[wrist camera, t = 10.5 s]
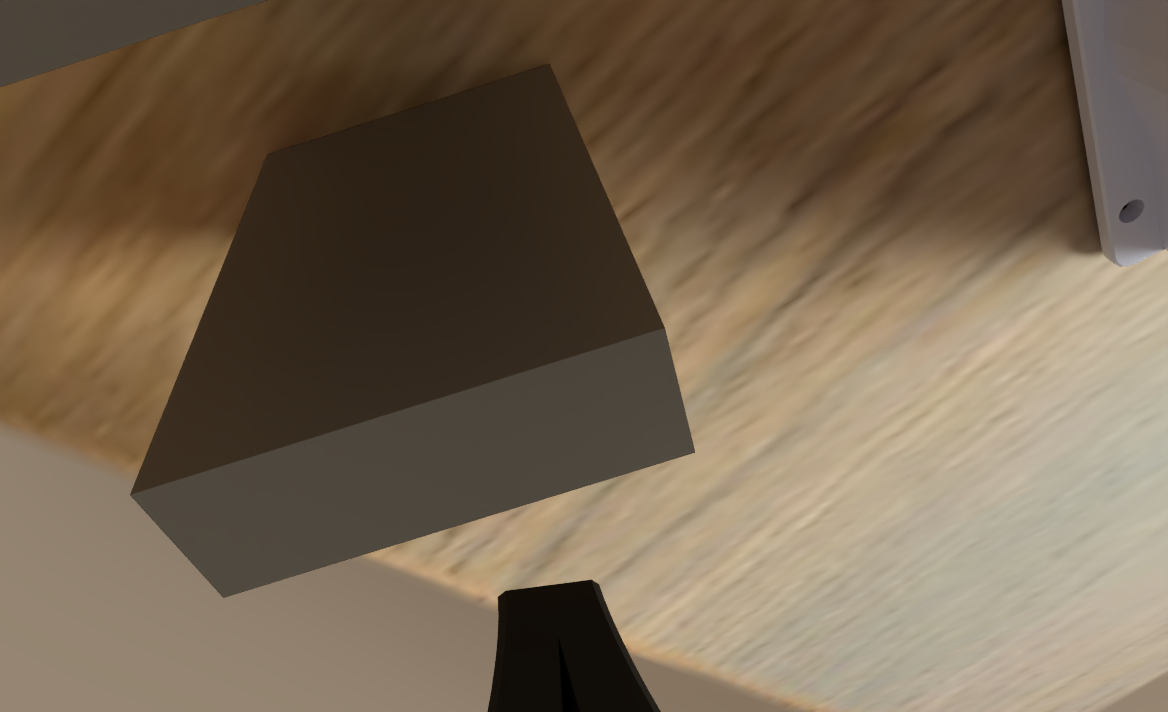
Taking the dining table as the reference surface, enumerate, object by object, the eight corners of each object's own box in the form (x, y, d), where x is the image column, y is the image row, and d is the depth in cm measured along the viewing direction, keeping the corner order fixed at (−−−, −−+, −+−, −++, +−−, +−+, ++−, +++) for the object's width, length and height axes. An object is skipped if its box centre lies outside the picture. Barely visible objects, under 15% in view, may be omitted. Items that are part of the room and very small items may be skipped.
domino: (573, 150, 14) (695, 453, 8) (310, 235, 15) (224, 597, 8) (549, 64, 13) (664, 327, 7) (267, 154, 14) (130, 495, 7)
